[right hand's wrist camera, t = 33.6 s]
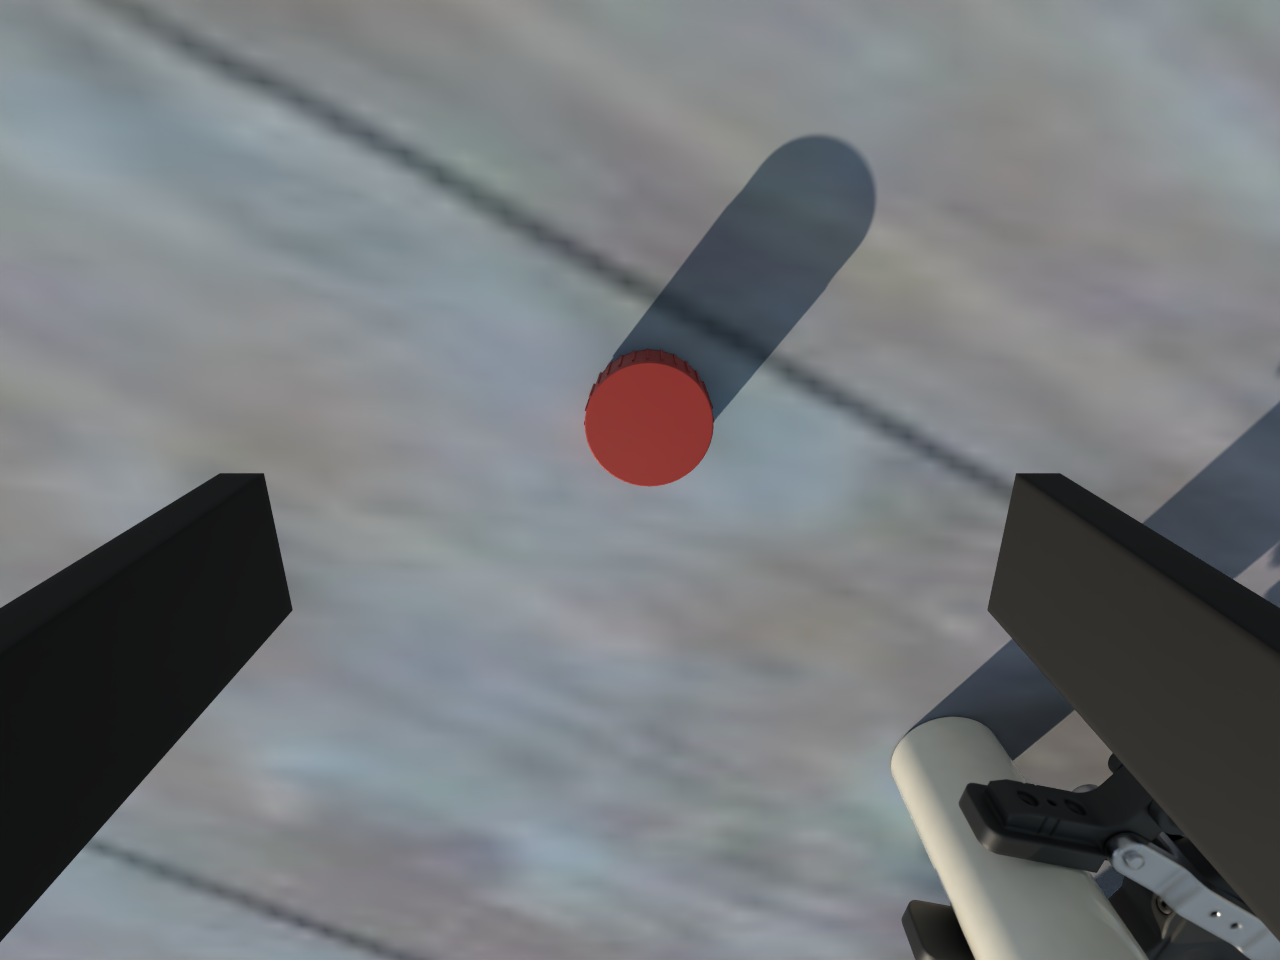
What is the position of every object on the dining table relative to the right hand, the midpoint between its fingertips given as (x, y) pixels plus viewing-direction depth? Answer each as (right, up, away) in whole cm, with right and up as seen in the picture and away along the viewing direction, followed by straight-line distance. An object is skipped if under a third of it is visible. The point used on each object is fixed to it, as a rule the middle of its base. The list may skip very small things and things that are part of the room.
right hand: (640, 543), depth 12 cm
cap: (0, +3, +9) cm, 10 cm away
